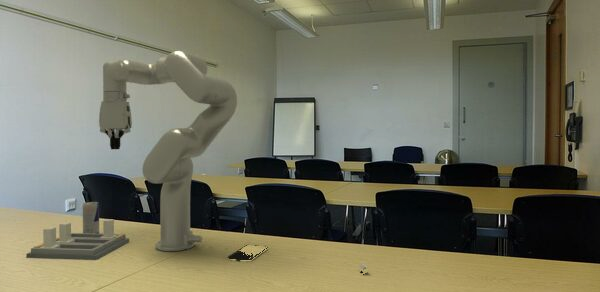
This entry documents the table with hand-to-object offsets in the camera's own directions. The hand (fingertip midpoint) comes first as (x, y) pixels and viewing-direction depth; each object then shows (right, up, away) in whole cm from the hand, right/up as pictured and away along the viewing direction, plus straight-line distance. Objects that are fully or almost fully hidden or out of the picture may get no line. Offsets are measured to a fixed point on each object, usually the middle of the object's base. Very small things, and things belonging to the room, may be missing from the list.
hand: (115, 149), depth 144 cm
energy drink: (-11, -32, +5) cm, 34 cm away
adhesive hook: (+85, -35, -33) cm, 97 cm away
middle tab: (-11, -31, -12) cm, 35 cm away
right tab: (+1, -31, -7) cm, 32 cm away
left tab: (-12, -31, -19) cm, 38 cm away
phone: (+50, -34, -16) cm, 62 cm away
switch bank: (-5, -33, -13) cm, 35 cm away
